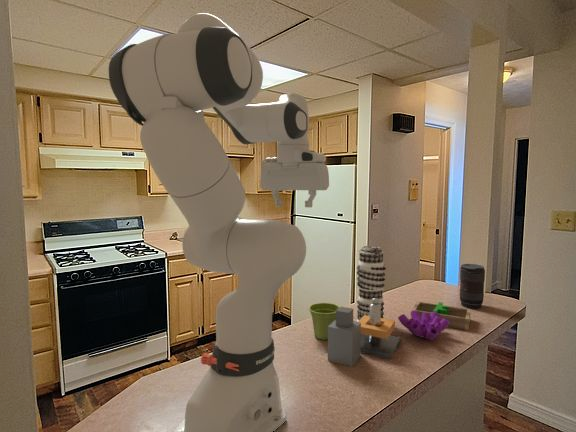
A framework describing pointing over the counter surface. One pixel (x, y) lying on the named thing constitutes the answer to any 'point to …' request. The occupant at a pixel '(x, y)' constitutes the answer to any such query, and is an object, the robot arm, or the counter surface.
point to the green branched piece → (441, 309)
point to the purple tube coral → (424, 324)
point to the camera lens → (472, 285)
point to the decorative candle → (370, 279)
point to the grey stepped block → (344, 338)
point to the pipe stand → (376, 344)
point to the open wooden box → (455, 315)
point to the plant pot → (322, 318)
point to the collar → (376, 331)
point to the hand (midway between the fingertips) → (293, 206)
